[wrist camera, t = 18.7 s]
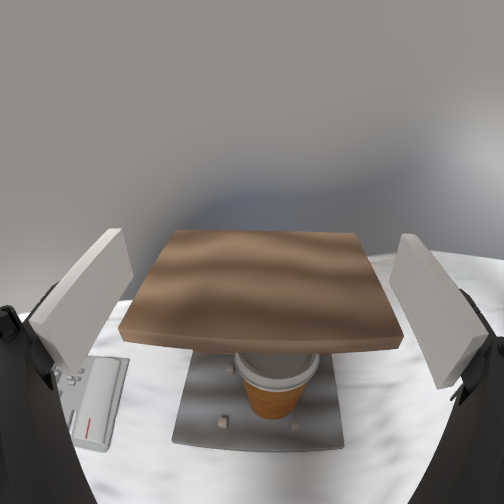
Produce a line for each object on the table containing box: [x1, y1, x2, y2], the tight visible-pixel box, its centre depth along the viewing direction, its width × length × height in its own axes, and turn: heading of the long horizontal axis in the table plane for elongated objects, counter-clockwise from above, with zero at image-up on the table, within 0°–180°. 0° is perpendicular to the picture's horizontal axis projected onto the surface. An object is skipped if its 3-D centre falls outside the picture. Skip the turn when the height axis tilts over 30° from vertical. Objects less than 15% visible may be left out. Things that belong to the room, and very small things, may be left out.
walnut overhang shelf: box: [118, 230, 404, 452], centre depth 32 cm, size 18×22×22 cm
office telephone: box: [52, 356, 129, 453], centre depth 32 cm, size 23×3×20 cm
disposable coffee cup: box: [233, 353, 320, 420], centre depth 32 cm, size 10×10×12 cm
